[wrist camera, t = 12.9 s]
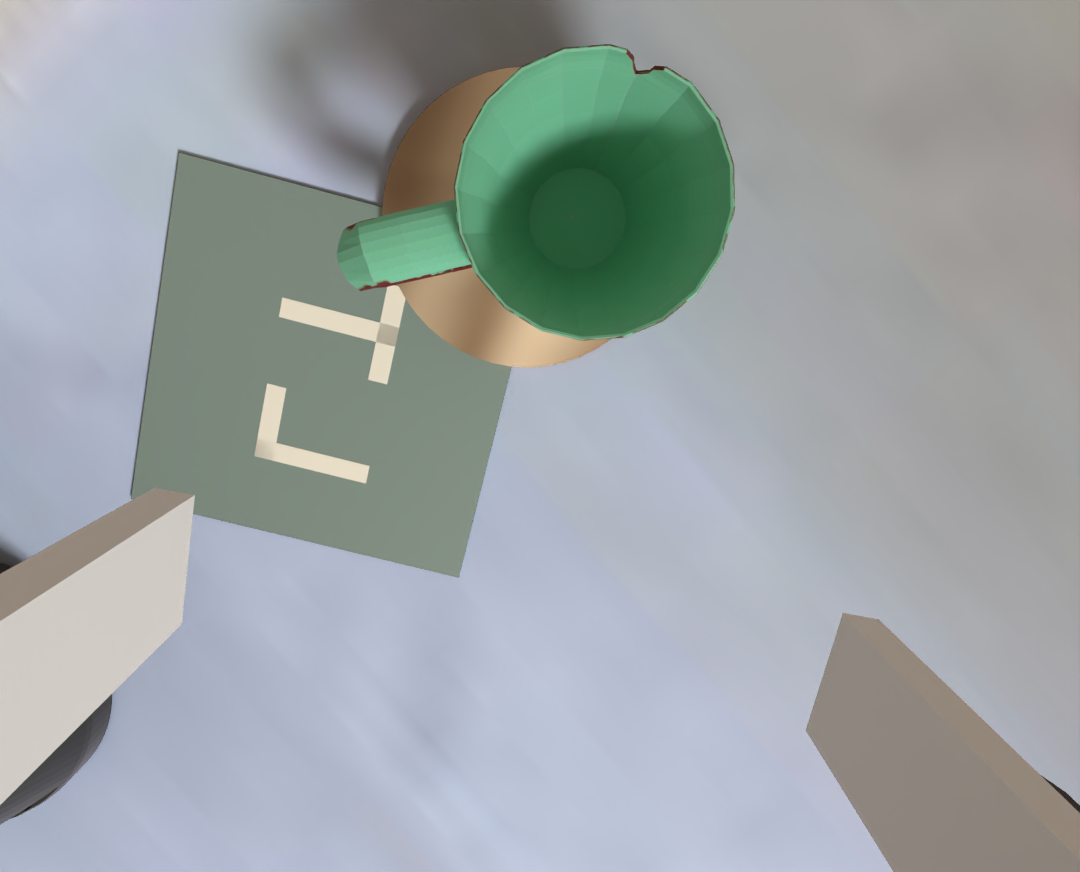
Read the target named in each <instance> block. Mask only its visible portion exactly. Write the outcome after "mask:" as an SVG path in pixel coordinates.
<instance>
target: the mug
mask: <svg viewBox="0 0 1080 872" xmlns="http://www.w3.org/2000/svg"><path fill="white" fill-rule="evenodd" d="M454 197H455V199H453V200H449V201H444V202H440V203H435V204H431V205H427V206H422V207H418V208H413V209H409V210H405V211H400V212H396V213H392V214H388V215H384V216H380V217H376V218H372V219H368V220H364V221H360V222H358V223H355V224H353V225H350V226H348V227H346V228H345V229H344V230H343V232H342V235H341V237H340V241H339V244H338V249H337V259H338V264H339V266H340V268H341V270H342V272H343V274H344V275H345V277H346V279H347V281H348V282H349V283H351V284H352V285H353V286H354V287H356V288H357V289H358V290H360V291H364V290H369V289H373V288H384V287H389V286H393V285H398V284H402V283H407V282H411V281H416V280H420V279H425V278H429V277H434V276H438V275H443V274H447V273H452V272H456V271H460V270H465V269H469V268H473V270H474V272H475V274H476V276H477V277H478V278H479V279H480V281H481V282H482V283H483V284H484V285H485V286H486V288H487V289H488V290H489V291H490V292H491V293H492V295H493V296H494V297H495V298H496V299H497V300H498V302H499V303H500V304H501V305H502V306H503V308H504V309H506V310H508V311H509V312H511V313H513V314H514V315H516V316H517V317H519V318H521V319H522V320H524V321H525V322H527V323H529V324H530V325H532V326H534V327H535V328H537V329H538V330H540V331H543V332H547V333H551V334H556V335H560V336H564V337H568V338H572V339H576V340H580V341H586V340H599V339H612V338H624V337H626V336H629V335H631V334H634V333H636V332H639V331H641V330H643V329H646V328H648V327H651V326H653V325H656V324H658V323H660V322H663V321H664V320H666V319H667V318H668V317H669V316H670V315H672V314H673V313H674V312H675V311H676V310H678V309H679V308H680V307H681V306H682V305H684V304H685V303H686V302H687V301H688V300H690V299H691V298H692V297H693V296H694V295H696V294H697V293H698V291H699V290H700V288H701V287H702V285H703V284H704V282H705V281H706V279H707V278H708V276H709V274H710V273H711V271H712V270H713V268H714V267H715V265H716V264H717V262H718V261H719V259H720V258H721V256H722V253H723V250H724V247H725V243H726V240H727V236H728V233H729V229H730V226H731V222H732V219H733V216H734V212H735V189H734V163H733V159H732V156H731V153H730V150H729V147H728V144H727V141H726V138H725V135H724V132H723V129H722V126H721V123H720V120H719V119H718V117H717V116H716V115H715V113H714V112H713V110H712V109H711V108H710V106H709V105H708V104H707V102H706V101H705V100H704V98H703V97H702V95H701V94H700V93H699V91H698V90H697V89H696V87H695V86H694V85H693V83H692V82H690V81H689V80H687V79H686V78H684V77H682V76H681V75H679V74H678V73H676V72H675V71H673V70H671V69H670V68H668V67H664V66H654V67H653V68H652V69H651V70H642V71H636V67H635V64H634V56H633V55H632V54H631V53H630V52H629V50H628V49H626V48H622V47H618V46H615V45H611V44H604V45H592V46H580V47H567V48H562V49H560V50H557V51H555V52H553V53H551V54H548V55H546V56H544V57H542V58H539V59H537V60H535V61H533V62H531V63H528V64H526V65H524V66H522V67H520V68H519V69H518V70H517V71H516V72H515V73H514V74H512V75H511V76H510V77H509V78H508V79H507V80H506V81H505V82H504V83H503V84H502V85H501V86H500V87H499V88H497V89H496V90H495V91H494V92H493V93H492V94H491V95H490V96H489V97H488V98H487V99H486V100H485V102H484V104H483V105H482V107H481V109H480V111H479V113H478V114H477V116H476V118H475V120H474V122H473V124H472V125H471V127H470V129H469V131H468V133H467V134H466V136H465V138H464V140H463V143H462V148H461V153H460V158H459V163H458V167H457V172H456V177H455V182H454Z"/></svg>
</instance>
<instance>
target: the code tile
mask: <svg viewBox="0 0 1080 872" xmlns="http://www.w3.org/2000/svg"><path fill="white" fill-rule="evenodd" d="M380 216H382V207H379V206H375V205H372V204H368V203H364V202H360V201H357V200H353V199H349V198H346V197H342V196H338V195H334V194H331V193H327V192H323V191H320V190H316V189H312V188H308V187H305V186H301V185H297V184H294V183H290V182H286V181H282V180H279V179H275V178H271V177H268V176H264V175H260V174H256V173H253V172H249V171H245V170H241V169H238V168H234V167H230V166H227V165H223V164H219V163H215V162H212V161H208V160H204V159H201V158H197V157H193V156H189V155H186V154H182V153H179V158H178V165H177V172H176V180H175V187H174V194H173V201H172V208H171V215H170V223H169V230H168V237H167V244H166V251H165V258H164V266H163V273H162V280H161V287H160V294H159V301H158V309H157V316H156V323H155V330H154V337H153V344H152V352H151V359H150V366H149V373H148V380H147V387H146V395H145V402H144V409H143V416H142V423H141V431H140V438H139V445H138V452H137V459H136V466H135V474H134V481H133V488H132V495H131V499H135V498H137V497H139V496H141V495H142V494H144V493H146V492H148V491H150V490H151V489H153V488H160V489H165V490H171V491H176V492H182V493H187V494H193V495H195V499H194V509H193V514H196V515H200V516H205V517H209V518H213V519H217V520H221V521H225V522H229V523H234V524H238V525H242V526H246V527H250V528H254V529H259V530H263V531H267V532H271V533H275V534H279V535H284V536H288V537H292V538H296V539H300V540H304V541H309V542H313V543H317V544H321V545H325V546H329V547H334V548H338V549H342V550H346V551H350V552H354V553H358V554H363V555H367V556H371V557H375V558H379V559H383V560H388V561H392V562H396V563H400V564H404V565H408V566H413V567H417V568H421V569H425V570H429V571H433V572H438V573H442V574H446V575H450V576H454V577H459V574H460V570H461V566H462V562H463V558H464V554H465V550H466V546H467V542H468V538H469V534H470V530H471V526H472V522H473V518H474V514H475V510H476V506H477V502H478V498H479V494H480V490H481V486H482V482H483V478H484V474H485V470H486V466H487V462H488V458H489V455H490V451H491V447H492V443H493V439H494V435H495V431H496V427H497V423H498V419H499V415H500V411H501V407H502V403H503V399H504V395H505V391H506V387H507V383H508V379H509V375H510V371H511V367H512V366H505V365H500V364H495V363H491V362H488V361H485V360H482V359H478V358H475V357H473V356H471V355H469V354H467V353H465V352H463V351H461V350H459V349H457V348H455V347H454V346H452V345H451V344H449V343H448V342H446V341H445V340H443V339H442V338H441V337H440V336H438V335H437V334H436V333H435V332H434V331H432V330H431V329H430V328H429V327H428V326H427V325H426V324H425V323H424V322H423V321H422V319H421V318H420V317H419V316H418V315H417V314H416V313H415V311H414V310H413V309H412V307H411V306H410V304H409V303H408V301H407V300H406V299H405V297H404V295H403V293H402V291H401V289H400V288H399V286H398V285H393V286H389V287H384V288H373V289H369V290H364V291H360V290H358V289H357V288H356V287H354V286H353V285H352V284H351V283H349V282H348V281H347V279H346V277H345V275H344V274H343V272H342V270H341V268H340V266H339V264H338V259H337V249H338V244H339V241H340V237H341V235H342V232H343V230H344V229H345V228H346V227H348V226H350V225H353V224H355V223H358V222H360V221H364V220H368V219H372V218H376V217H380Z"/></svg>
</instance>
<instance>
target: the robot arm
mask: <svg viewBox="0 0 1080 872" xmlns="http://www.w3.org/2000/svg"><path fill="white" fill-rule="evenodd" d="M194 499H195V495H193V494H187V493H182V492H176V491H171V490H165V489H160V488H153V489H151V490H150V491H148V492H146V493H144V494H142V495H141V496H139V497H137V498H135V499H133V500H132V501H130V502H128V503H126V504H124V505H123V506H121V507H119V508H117V509H116V510H114V511H112V512H110V513H108V514H107V515H105V516H103V517H101V518H99V519H98V520H96V521H94V522H92V523H90V524H89V525H87V526H85V527H83V528H82V529H80V530H78V531H76V532H74V533H73V534H71V535H69V536H67V537H65V538H64V539H62V540H60V541H58V542H56V543H55V544H53V545H51V546H49V547H48V548H46V549H44V550H42V551H40V552H39V553H37V554H35V555H33V556H31V557H30V558H28V559H26V560H24V561H22V562H21V563H19V564H17V565H15V566H14V567H12V568H11V567H9V566H6V565H3V564H0V824H2V823H3V822H5V821H7V820H8V819H11V818H13V817H16V816H19V815H21V814H23V813H25V812H27V811H29V810H31V809H32V808H34V807H36V806H38V805H40V804H41V803H43V802H44V801H46V800H47V799H48V798H50V797H51V796H52V795H54V794H55V793H56V792H57V791H59V790H60V789H61V788H62V787H63V786H64V785H65V784H66V783H67V782H68V781H69V780H70V779H71V778H72V777H73V776H74V774H75V773H76V772H77V771H78V770H79V769H80V768H81V767H82V766H83V765H84V764H85V763H86V762H87V761H88V759H89V758H90V757H91V756H92V755H93V753H94V752H95V751H96V749H97V747H98V746H99V744H100V742H101V740H102V738H103V736H104V734H105V731H106V729H107V726H108V722H109V718H110V713H111V705H112V693H113V692H114V691H115V690H116V689H117V688H118V687H119V686H120V685H121V684H122V683H123V682H124V681H125V680H126V679H127V678H128V677H129V676H130V675H131V674H132V673H133V672H134V671H135V670H136V669H137V668H138V667H139V666H140V665H141V664H142V663H143V662H144V661H145V660H146V659H147V658H148V657H149V656H150V655H151V654H152V653H153V652H154V651H155V650H156V649H157V648H158V647H159V646H160V645H161V644H162V643H163V642H164V641H165V640H166V639H167V638H168V637H169V636H170V635H171V634H172V633H173V632H174V631H175V630H176V629H177V628H178V627H179V626H180V625H181V624H182V617H183V607H184V597H185V588H186V578H187V568H188V558H189V548H190V538H191V529H192V519H193V509H194ZM806 731H807V733H808V735H809V736H810V738H811V740H812V741H813V743H814V744H815V746H816V748H817V749H818V751H819V752H820V754H821V756H822V757H823V759H824V760H825V762H826V764H827V765H828V767H829V769H830V770H831V772H832V773H833V775H834V777H835V778H836V780H837V781H838V783H839V785H840V786H841V788H842V789H843V791H844V793H845V794H846V796H847V797H848V799H849V801H850V802H851V804H852V806H853V807H854V809H855V810H856V812H857V814H858V815H859V817H860V818H861V820H862V822H863V823H864V825H865V826H866V828H867V830H868V831H869V833H870V835H871V836H872V838H873V839H874V841H875V843H876V844H877V846H878V847H879V849H880V851H881V852H882V854H883V855H884V857H885V859H886V860H887V862H888V863H889V865H890V867H891V868H892V870H893V872H1080V805H1079V804H1077V803H1076V802H1075V801H1074V800H1073V799H1072V798H1071V797H1070V796H1069V795H1068V794H1067V793H1066V792H1064V791H1063V790H1062V789H1060V788H1059V787H1057V786H1056V785H1054V784H1053V783H1051V782H1050V781H1048V780H1047V779H1046V778H1044V777H1043V776H1041V775H1040V774H1039V773H1038V772H1037V771H1036V770H1035V769H1033V768H1032V767H1031V766H1030V765H1029V764H1028V763H1027V762H1026V761H1025V760H1024V759H1023V758H1022V757H1021V756H1020V755H1019V754H1018V753H1017V752H1016V751H1015V750H1014V749H1013V748H1012V747H1011V746H1010V745H1009V744H1008V743H1006V742H1005V741H1004V740H1003V739H1002V738H1001V737H1000V736H999V735H998V734H997V733H996V732H995V731H994V730H993V729H992V728H991V727H990V726H989V725H988V724H987V723H986V722H985V721H984V720H983V719H982V718H980V717H979V716H978V715H977V714H976V713H975V712H974V711H973V710H972V709H971V708H970V707H969V706H968V705H967V704H966V703H965V702H964V701H963V700H962V699H961V698H960V697H959V696H958V695H957V694H956V693H955V692H953V691H952V690H951V689H950V688H949V687H948V686H947V685H946V684H945V683H944V682H943V681H942V680H941V679H940V678H939V677H938V676H937V675H936V674H935V673H934V672H933V671H932V670H931V669H930V668H929V667H928V666H926V665H925V664H924V663H923V662H922V661H921V660H920V659H919V658H918V657H917V656H916V655H915V654H914V653H913V652H912V651H911V650H910V649H909V648H908V647H907V646H906V645H905V644H904V643H903V642H902V641H900V640H899V639H898V638H897V637H896V636H895V635H894V634H893V633H892V632H891V631H890V630H889V629H888V628H887V627H886V626H885V625H884V624H883V623H882V622H881V621H880V620H879V619H873V618H868V617H862V616H857V615H851V614H846V613H843V615H842V618H841V621H840V624H839V627H838V631H837V634H836V637H835V640H834V643H833V646H832V649H831V653H830V656H829V659H828V662H827V665H826V668H825V671H824V675H823V678H822V681H821V684H820V687H819V690H818V693H817V697H816V700H815V703H814V706H813V709H812V712H811V715H810V719H809V722H808V725H807V728H806Z"/></svg>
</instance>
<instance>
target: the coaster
mask: <svg viewBox="0 0 1080 872" xmlns="http://www.w3.org/2000/svg"><path fill="white" fill-rule="evenodd" d="M519 68H520V67H514V68H504V69H499V70H495V71H490V72H486V73H483V74H481V75H478V76H475V77H473V78H470V79H467V80H466V81H464V82H462V83H460V84H458V85H456V86H455V87H453V88H451V89H449V90H448V91H447V92H445V93H444V94H443V95H441V96H440V97H439V98H437V99H436V100H435V101H434V102H433V103H432V104H431V105H429V106H428V107H427V108H426V109H425V110H424V111H423V112H422V113H421V114H420V116H419V117H418V118H417V119H416V121H415V122H414V123H413V125H412V126H411V127H410V129H409V130H408V131H407V133H406V135H405V136H404V138H403V140H402V142H401V143H400V145H399V147H398V149H397V151H396V154H395V156H394V159H393V161H392V163H391V166H390V169H389V173H388V177H387V180H386V184H385V190H384V197H383V205H382V216H384V215H388V214H392V213H396V212H400V211H405V210H409V209H413V208H418V207H422V206H427V205H431V204H435V203H440V202H444V201H449V200H453V199H455V197H454V182H455V177H456V172H457V167H458V163H459V158H460V153H461V148H462V143H463V140H464V138H465V136H466V134H467V133H468V131H469V129H470V127H471V125H472V124H473V122H474V120H475V118H476V116H477V114H478V113H479V111H480V109H481V107H482V105H483V104H484V102H485V100H486V99H487V98H488V97H489V96H490V95H491V94H492V93H493V92H494V91H495V90H496V89H497V88H499V87H500V86H501V85H502V84H503V83H504V82H505V81H506V80H507V79H508V78H509V77H510V76H511V75H512V74H514V73H515V72H516V71H517V70H518V69H519ZM398 286H399V288H400V289H401V291H402V293H403V295H404V297H405V299H406V300H407V301H408V303H409V304H410V306H411V307H412V309H413V310H414V311H415V313H416V314H417V315H418V316H419V317H420V318H421V319H422V321H423V322H424V323H425V324H426V325H427V326H428V327H429V328H430V329H431V330H432V331H434V332H435V333H436V334H437V335H438V336H440V337H441V338H442V339H443V340H445V341H446V342H448V343H449V344H451V345H452V346H454V347H455V348H457V349H459V350H461V351H463V352H465V353H467V354H469V355H471V356H473V357H475V358H478V359H482V360H485V361H488V362H491V363H495V364H500V365H505V366H512V367H540V366H549V365H554V364H558V363H563V362H566V361H569V360H572V359H575V358H578V357H581V356H583V355H585V354H587V353H589V352H591V351H593V350H595V349H597V348H598V347H600V346H601V345H603V344H604V343H606V342H607V341H609V340H610V339H599V340H586V341H580V340H576V339H572V338H568V337H564V336H560V335H556V334H551V333H547V332H543V331H540V330H538V329H537V328H535V327H534V326H532V325H530V324H529V323H527V322H525V321H524V320H522V319H521V318H519V317H517V316H516V315H514V314H513V313H511V312H509V311H508V310H506V309H504V308H503V306H502V305H501V304H500V303H499V302H498V300H497V299H496V298H495V297H494V296H493V295H492V293H491V292H490V291H489V290H488V289H487V288H486V286H485V285H484V284H483V283H482V282H481V281H480V279H479V278H478V277H477V276H476V274H475V272H474V270H473V268H469V269H465V270H460V271H456V272H452V273H447V274H443V275H438V276H434V277H429V278H425V279H420V280H416V281H411V282H407V283H402V284H398Z"/></svg>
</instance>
